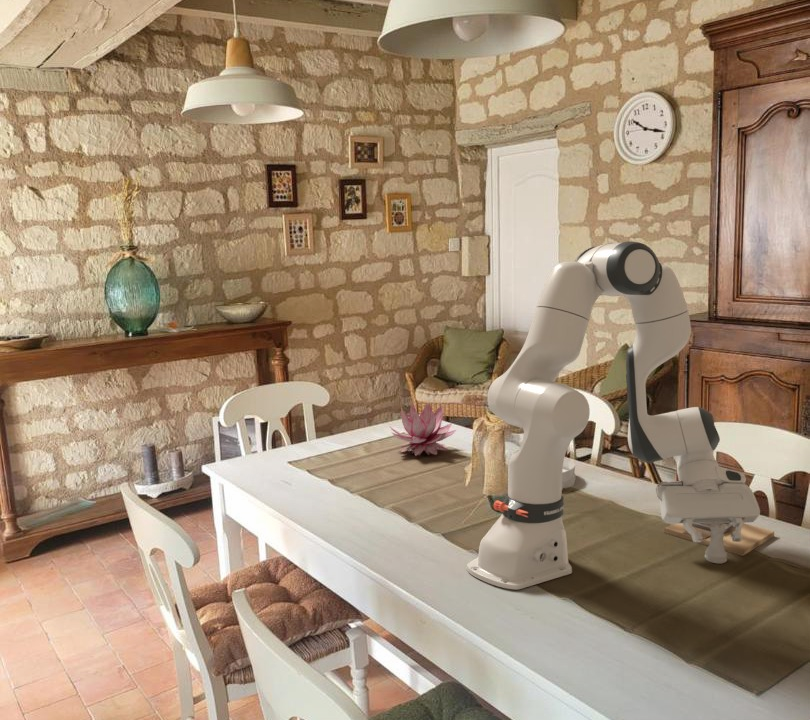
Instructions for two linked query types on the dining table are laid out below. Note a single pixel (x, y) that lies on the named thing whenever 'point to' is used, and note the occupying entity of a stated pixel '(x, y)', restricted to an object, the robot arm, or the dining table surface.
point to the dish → (568, 473)
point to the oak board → (726, 536)
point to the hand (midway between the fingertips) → (718, 541)
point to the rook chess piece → (716, 544)
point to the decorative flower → (424, 430)
